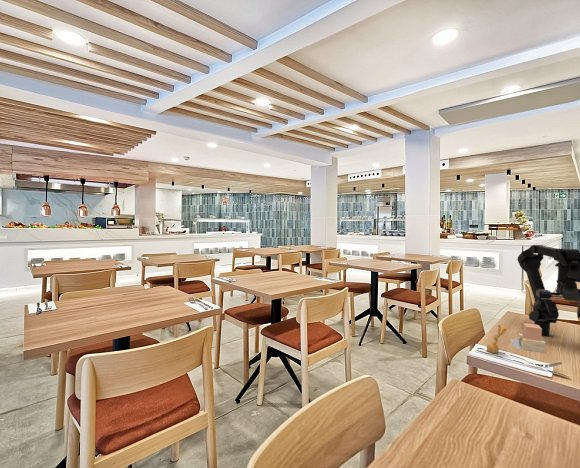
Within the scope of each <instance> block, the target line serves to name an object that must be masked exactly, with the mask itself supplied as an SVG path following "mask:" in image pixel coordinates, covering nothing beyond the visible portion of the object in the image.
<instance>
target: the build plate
mask: <svg viewBox="0 0 580 468" xmlns="http://www.w3.org/2000/svg"><path fill="white" fill-rule="evenodd" d="M508 340H510V343H511V344H512V345H513V347H514V349H515V350H516V349H517V350H520V351H521V350H523V351H525V350H524V349H522V347H521V346H520V345H519V339H517V338H508ZM526 351H529V352H532V351H531V350H526ZM533 352H535V353H538V352H537V351H533ZM539 353H542V354H547V352H546V351H545V352H539Z"/></svg>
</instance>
